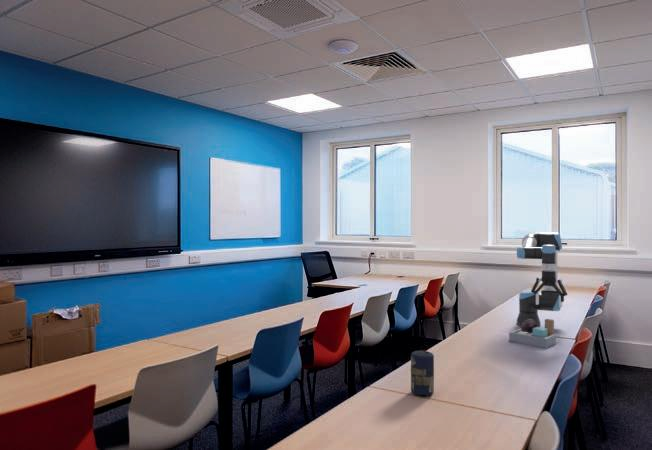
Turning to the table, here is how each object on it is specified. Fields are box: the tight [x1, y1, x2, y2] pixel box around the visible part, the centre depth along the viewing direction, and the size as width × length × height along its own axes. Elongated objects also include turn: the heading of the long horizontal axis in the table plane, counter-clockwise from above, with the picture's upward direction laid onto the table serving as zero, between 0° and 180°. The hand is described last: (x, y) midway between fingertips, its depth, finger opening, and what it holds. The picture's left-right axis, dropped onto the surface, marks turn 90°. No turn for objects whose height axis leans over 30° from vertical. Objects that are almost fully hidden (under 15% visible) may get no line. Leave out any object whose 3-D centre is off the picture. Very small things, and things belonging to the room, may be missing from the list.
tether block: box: [533, 318, 555, 338], centre depth 269 cm, size 19×6×12 cm, turn 133°
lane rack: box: [508, 328, 557, 349], centre depth 269 cm, size 14×22×5 cm, turn 43°
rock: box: [520, 319, 537, 334], centre depth 290 cm, size 12×9×10 cm
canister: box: [410, 350, 435, 396], centre depth 190 cm, size 10×10×18 cm
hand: (548, 305), depth 273 cm, fingers open, 13 cm apart
